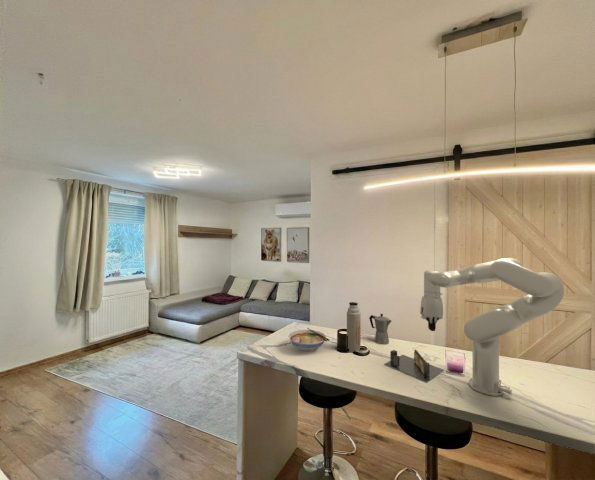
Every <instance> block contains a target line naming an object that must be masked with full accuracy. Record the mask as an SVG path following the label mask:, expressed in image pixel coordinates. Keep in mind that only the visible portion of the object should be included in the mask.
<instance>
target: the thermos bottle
mask: <svg viewBox="0 0 595 480" xmlns="http://www.w3.org/2000/svg"><path fill="white" fill-rule="evenodd" d="M358 304H359V303H358V302H356V301H355V302H353V301H351V302H349V303H348V307H347V311H346V337H347V336H348V349H349V351H348V352H349V353H353V352H354V351H356V350H360V348H361V347H362V345H361V341H362V340H361V339H362V338H361V334H362V333H361V329H362V328H361V324H362V323H361V322H362V321H361V319H362V317H361V315H362V313H361V312H360V308H359V305H358ZM360 351H361V350H360Z"/></svg>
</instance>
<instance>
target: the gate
mask: <svg viewBox="0 0 595 480" xmlns="http://www.w3.org/2000/svg"><path fill="white" fill-rule="evenodd" d="M413 358H414V361H415V363H416V364H417V366H418V367H419V368H420V370H421V371H422V372H423V374H424V362H427V361H426V360H425V358H424V357H423V356H422V355H421V354H420V352H419V351H418V350H417V349H414V351H413Z"/></svg>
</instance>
